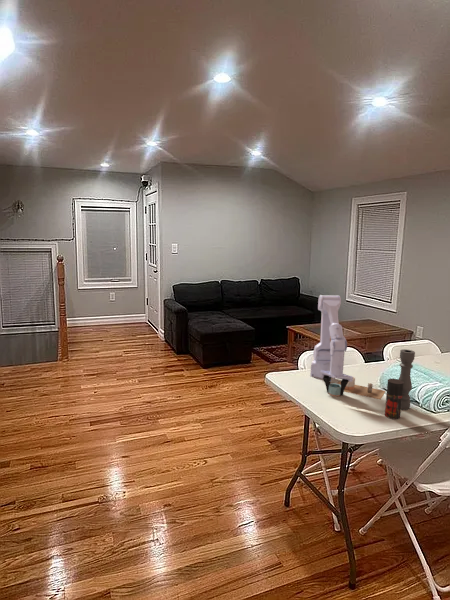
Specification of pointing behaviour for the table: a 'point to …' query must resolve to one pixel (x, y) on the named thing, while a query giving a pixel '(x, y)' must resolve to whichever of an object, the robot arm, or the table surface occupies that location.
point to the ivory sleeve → (350, 385)
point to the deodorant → (394, 398)
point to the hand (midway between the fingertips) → (334, 393)
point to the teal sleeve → (334, 389)
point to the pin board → (366, 391)
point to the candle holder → (406, 376)
